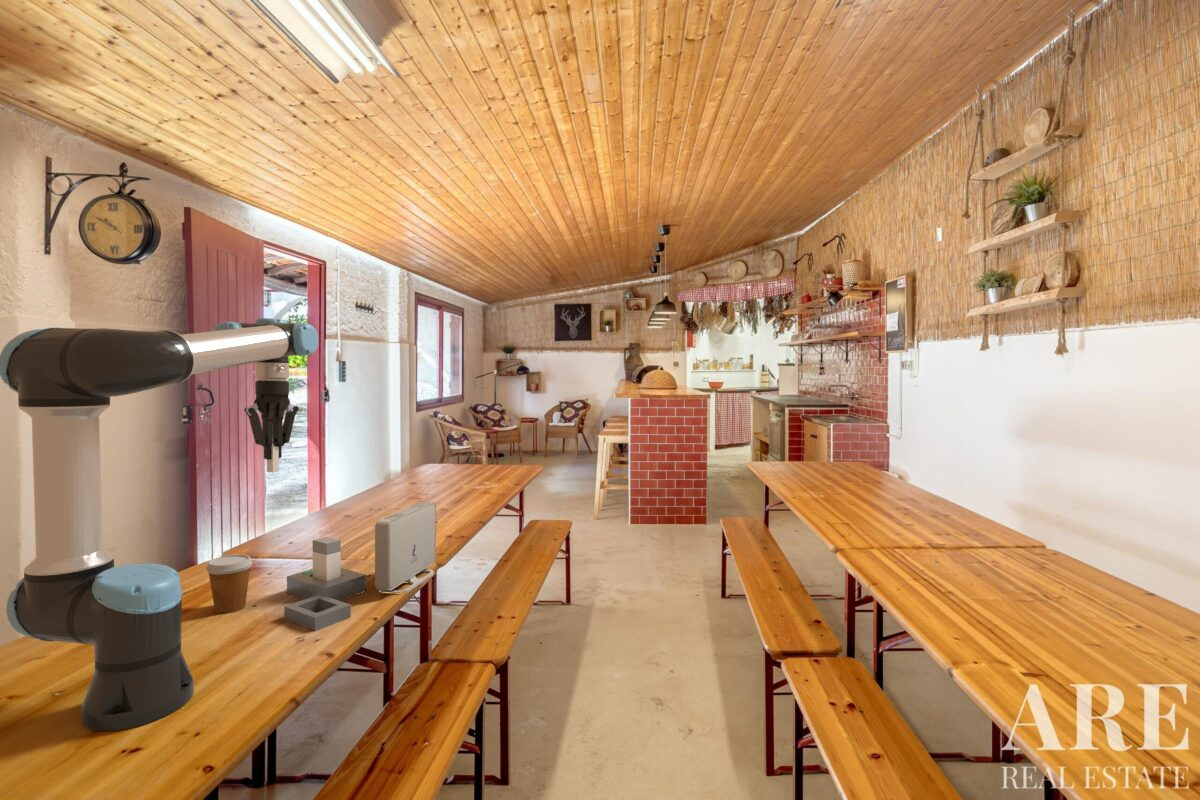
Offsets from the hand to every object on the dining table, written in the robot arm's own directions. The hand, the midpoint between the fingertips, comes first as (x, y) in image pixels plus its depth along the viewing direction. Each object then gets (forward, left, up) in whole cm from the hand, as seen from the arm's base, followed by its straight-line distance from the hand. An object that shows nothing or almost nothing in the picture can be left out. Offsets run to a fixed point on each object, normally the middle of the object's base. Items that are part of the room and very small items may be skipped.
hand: (272, 471), depth 148 cm
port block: (+9, -9, -32) cm, 35 cm away
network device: (+26, -20, -33) cm, 46 cm away
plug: (+9, -9, -32) cm, 35 cm away
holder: (-2, -22, -32) cm, 39 cm away
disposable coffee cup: (-10, +1, -33) cm, 34 cm away
